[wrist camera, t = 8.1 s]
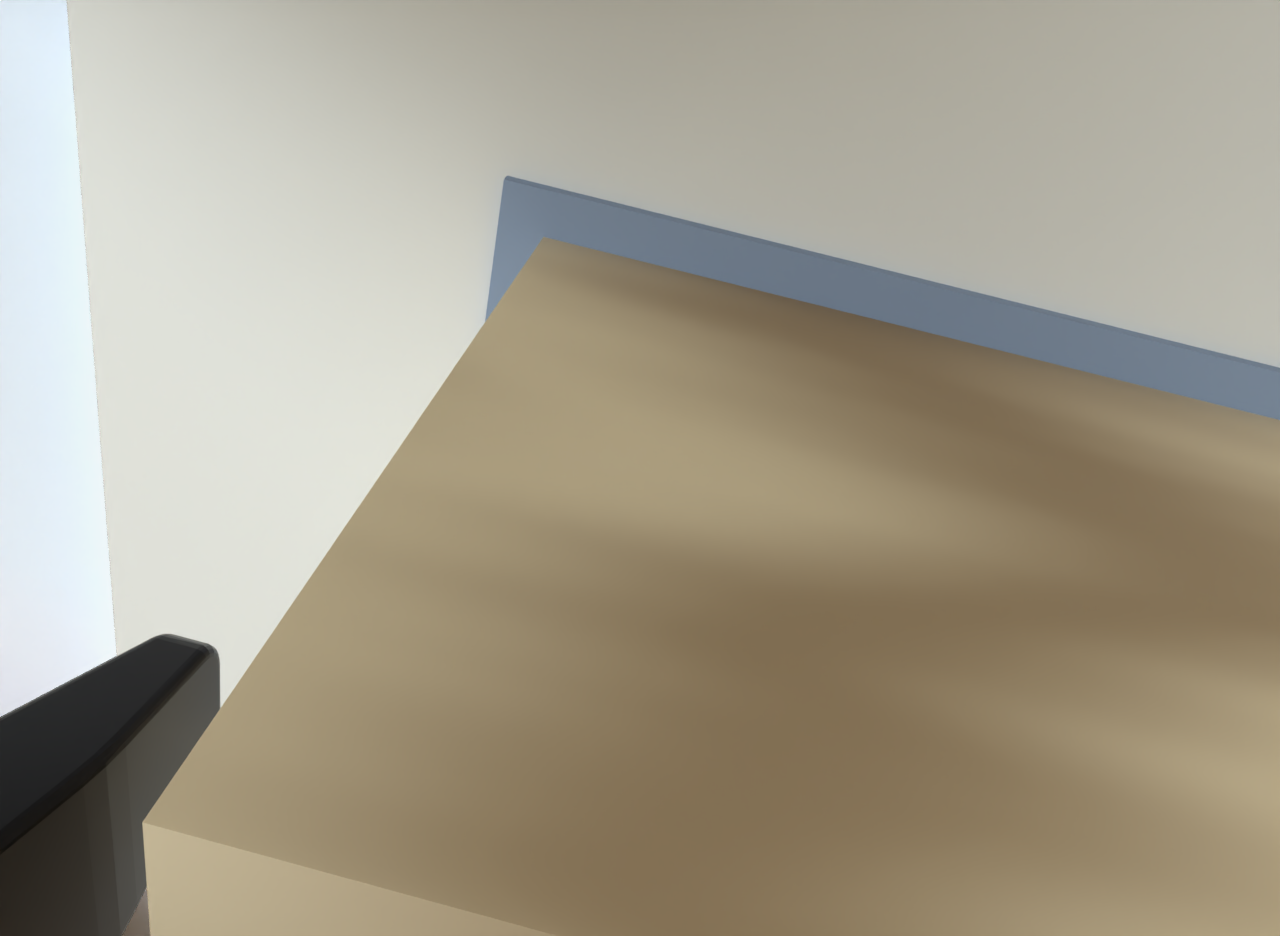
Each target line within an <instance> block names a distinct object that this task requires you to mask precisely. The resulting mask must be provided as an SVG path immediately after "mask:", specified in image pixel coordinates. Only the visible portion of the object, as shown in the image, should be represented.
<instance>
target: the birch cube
mask: <svg viewBox="0 0 1280 936" xmlns="http://www.w3.org/2000/svg"><path fill="white" fill-rule="evenodd" d="M142 825H143V839H144V854H145V868H146V882H147V897H148V911H149V925H150V936H1280V420H1278V419H1274V418H1270V417H1266V416H1261V415H1257V414H1253V413H1249V412H1245V411H1241V410H1237V409H1233V408H1229V407H1225V406H1221V405H1217V404H1213V403H1209V402H1205V401H1201V400H1197V399H1193V398H1189V397H1185V396H1181V395H1177V394H1173V393H1169V392H1165V391H1161V390H1157V389H1153V388H1149V387H1145V386H1141V385H1137V384H1133V383H1129V382H1125V381H1121V380H1117V379H1113V378H1109V377H1105V376H1101V375H1097V374H1093V373H1089V372H1085V371H1081V370H1077V369H1073V368H1069V367H1065V366H1061V365H1057V364H1053V363H1049V362H1044V361H1040V360H1036V359H1032V358H1028V357H1024V356H1020V355H1016V354H1012V353H1008V352H1004V351H1000V350H996V349H992V348H988V347H984V346H980V345H976V344H972V343H968V342H964V341H960V340H956V339H952V338H948V337H944V336H940V335H936V334H932V333H928V332H924V331H920V330H916V329H912V328H908V327H904V326H900V325H896V324H892V323H888V322H884V321H880V320H876V319H872V318H868V317H864V316H860V315H856V314H852V313H848V312H844V311H840V310H836V309H832V308H827V307H823V306H819V305H815V304H811V303H807V302H803V301H799V300H795V299H791V298H787V297H783V296H779V295H775V294H771V293H767V292H763V291H759V290H755V289H751V288H747V287H743V286H739V285H735V284H731V283H727V282H723V281H719V280H715V279H711V278H707V277H703V276H699V275H695V274H691V273H687V272H683V271H679V270H675V269H671V268H667V267H663V266H659V265H655V264H651V263H647V262H643V261H639V260H635V259H631V258H627V257H623V256H619V255H615V254H611V253H606V252H602V251H598V250H594V249H590V248H586V247H582V246H578V245H574V244H570V243H566V242H562V241H558V240H554V239H550V238H546V237H543V238H542V240H541V241H540V243H539V244H538V246H537V247H536V249H535V250H534V252H533V253H532V254H531V256H530V257H529V259H528V260H527V262H526V263H525V265H524V266H523V268H522V269H521V271H520V272H519V273H518V275H517V276H516V278H515V279H514V281H513V282H512V284H511V285H510V287H509V288H508V290H507V291H506V292H505V294H504V295H503V297H502V298H501V300H500V301H499V303H498V304H497V306H496V307H495V308H494V310H493V311H492V313H491V314H490V316H489V317H488V319H487V320H486V322H485V323H484V325H483V326H482V327H481V329H480V330H479V332H478V333H477V335H476V336H475V338H474V339H473V341H472V342H471V344H470V345H469V346H468V348H467V349H466V351H465V352H464V354H463V355H462V357H461V358H460V360H459V361H458V362H457V364H456V365H455V367H454V368H453V370H452V371H451V373H450V374H449V376H448V377H447V379H446V380H445V381H444V383H443V384H442V386H441V387H440V389H439V390H438V392H437V393H436V395H435V396H434V397H433V399H432V400H431V402H430V403H429V405H428V406H427V408H426V409H425V411H424V412H423V414H422V415H421V416H420V418H419V419H418V421H417V422H416V424H415V425H414V427H413V428H412V430H411V431H410V433H409V434H408V435H407V437H406V438H405V440H404V441H403V443H402V444H401V446H400V447H399V449H398V450H397V451H396V453H395V454H394V456H393V457H392V459H391V460H390V462H389V463H388V465H387V466H386V468H385V469H384V470H383V472H382V473H381V475H380V476H379V478H378V479H377V481H376V482H375V484H374V485H373V486H372V488H371V489H370V491H369V492H368V494H367V495H366V497H365V498H364V500H363V501H362V503H361V504H360V505H359V507H358V508H357V510H356V511H355V513H354V514H353V516H352V517H351V519H350V520H349V522H348V523H347V524H346V526H345V527H344V529H343V530H342V532H341V533H340V535H339V536H338V538H337V539H336V540H335V542H334V543H333V545H332V546H331V548H330V549H329V551H328V552H327V554H326V555H325V557H324V558H323V559H322V561H321V562H320V564H319V565H318V567H317V568H316V570H315V571H314V573H313V574H312V576H311V577H310V578H309V580H308V581H307V583H306V584H305V586H304V587H303V589H302V590H301V592H300V593H299V594H298V596H297V597H296V599H295V600H294V602H293V603H292V605H291V606H290V608H289V609H288V611H287V612H286V613H285V615H284V616H283V618H282V619H281V621H280V622H279V624H278V625H277V627H276V628H275V629H274V631H273V632H272V634H271V635H270V637H269V638H268V640H267V641H266V643H265V644H264V646H263V647H262V648H261V650H260V651H259V653H258V654H257V656H256V657H255V659H254V660H253V662H252V663H251V665H250V666H249V667H248V669H247V670H246V672H245V673H244V675H243V676H242V678H241V679H240V681H239V682H238V683H237V685H236V686H235V688H234V689H233V691H232V692H231V694H230V695H229V697H228V698H227V700H226V701H225V702H224V704H223V705H222V707H221V708H220V710H219V711H218V713H217V714H216V716H215V717H214V718H213V720H212V721H211V723H210V724H209V726H208V727H207V729H206V730H205V732H204V733H203V735H202V736H201V737H200V739H199V740H198V742H197V743H196V745H195V746H194V748H193V749H192V751H191V752H190V754H189V755H188V756H187V758H186V759H185V761H184V762H183V764H182V765H181V767H180V768H179V770H178V771H177V772H176V774H175V775H174V777H173V778H172V780H171V781H170V783H169V784H168V786H167V787H166V789H165V790H164V791H163V793H162V794H161V796H160V797H159V799H158V800H157V802H156V803H155V805H154V806H153V807H152V809H151V810H150V812H149V813H148V815H147V816H146V818H145V819H144V821H143V822H142Z"/></svg>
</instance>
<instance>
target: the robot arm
mask: <svg viewBox="0 0 1280 936" xmlns="http://www.w3.org/2000/svg"><path fill="white" fill-rule="evenodd" d="M219 710H220V659H219V654H218V652H217V650H216V648H215V647H214V646H212V645H210V644H208V643H204V642H200V641H197V640H193V639H189V638H185V637H182V636H178V635H174V634H161V635H157V636H155V637H152V638H150V639H148V640H146V641H144V642H142V643H141V644H139V645H137V646H135V647H133V648H131V649H129V650H127V651H125V652H123V653H122V654H120V655H118V656H116V657H114V658H112V659H110V660H108V661H106V662H104V663H102V664H101V665H99V666H97V667H95V668H93V669H91V670H89V671H87V672H85V673H83V674H81V675H80V676H78V677H76V678H74V679H72V680H70V681H68V682H66V683H64V684H62V685H60V686H59V687H57V688H55V689H53V690H51V691H49V692H47V693H45V694H43V695H41V696H39V697H38V698H36V699H34V700H32V701H30V702H28V703H26V704H24V705H22V706H20V707H18V708H17V709H15V710H13V711H11V712H9V713H7V714H5V715H3V716H1V717H0V936H122V935H123V933H124V931H125V929H126V927H127V925H128V923H129V921H130V919H131V917H132V915H133V913H134V911H135V910H136V908H137V906H138V904H139V902H140V900H141V897H142V895H143V893H144V891H145V889H146V887H147V882H146V868H145V854H144V839H143V825H142V822H143V821H144V819H145V818H146V816H147V815H148V813H149V812H150V810H151V809H152V807H153V806H154V805H155V803H156V802H157V800H158V799H159V797H160V796H161V794H162V793H163V791H164V790H165V789H166V787H167V786H168V784H169V783H170V781H171V780H172V778H173V777H174V775H175V774H176V772H177V771H178V770H179V768H180V767H181V765H182V764H183V762H184V761H185V759H186V758H187V756H188V755H189V754H190V752H191V751H192V749H193V748H194V746H195V745H196V743H197V742H198V740H199V739H200V737H201V736H202V735H203V733H204V732H205V730H206V729H207V727H208V726H209V724H210V723H211V721H212V720H213V718H214V717H215V716H216V714H217V713H218V711H219Z"/></svg>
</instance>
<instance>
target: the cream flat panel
mask: <svg viewBox="0 0 1280 936" xmlns="http://www.w3.org/2000/svg"><path fill="white" fill-rule="evenodd" d="M67 12H68V25H69V38H70V51H71V64H72V77H73V90H74V103H75V117H76V130H77V143H78V156H79V169H80V182H81V195H82V208H83V221H84V234H85V247H86V260H87V273H88V286H89V300H90V313H91V326H92V339H93V352H94V365H95V378H96V391H97V404H98V417H99V430H100V443H101V456H102V470H103V483H104V496H105V509H106V522H107V535H108V548H109V561H110V574H111V587H112V600H113V613H114V626H115V640H116V653H117V656H118V655H120V654H122V653H123V652H125V651H127V650H129V649H131V648H133V647H135V646H137V645H139V644H141V643H142V642H144V641H146V640H148V639H150V638H152V637H155V636H157V635H161V634H174V635H178V636H182V637H185V638H189V639H193V640H197V641H200V642H204V643H208V644H210V645H212V646H214V647H215V648H216V650H217V652H218V654H219V659H220V708H221V707H222V705H223V704H224V702H225V701H226V700H227V698H228V697H229V695H230V694H231V692H232V691H233V689H234V688H235V686H236V685H237V683H238V682H239V681H240V679H241V678H242V676H243V675H244V673H245V672H246V670H247V669H248V667H249V666H250V665H251V663H252V662H253V660H254V659H255V657H256V656H257V654H258V653H259V651H260V650H261V648H262V647H263V646H264V644H265V643H266V641H267V640H268V638H269V637H270V635H271V634H272V632H273V631H274V629H275V628H276V627H277V625H278V624H279V622H280V621H281V619H282V618H283V616H284V615H285V613H286V612H287V611H288V609H289V608H290V606H291V605H292V603H293V602H294V600H295V599H296V597H297V596H298V594H299V593H300V592H301V590H302V589H303V587H304V586H305V584H306V583H307V581H308V580H309V578H310V577H311V576H312V574H313V573H314V571H315V570H316V568H317V567H318V565H319V564H320V562H321V561H322V559H323V558H324V557H325V555H326V554H327V552H328V551H329V549H330V548H331V546H332V545H333V543H334V542H335V540H336V539H337V538H338V536H339V535H340V533H341V532H342V530H343V529H344V527H345V526H346V524H347V523H348V522H349V520H350V519H351V517H352V516H353V514H354V513H355V511H356V510H357V508H358V507H359V505H360V504H361V503H362V501H363V500H364V498H365V497H366V495H367V494H368V492H369V491H370V489H371V488H372V486H373V485H374V484H375V482H376V481H377V479H378V478H379V476H380V475H381V473H382V472H383V470H384V469H385V468H386V466H387V465H388V463H389V462H390V460H391V459H392V457H393V456H394V454H395V453H396V451H397V450H398V449H399V447H400V446H401V444H402V443H403V441H404V440H405V438H406V437H407V435H408V434H409V433H410V431H411V430H412V428H413V427H414V425H415V424H416V422H417V421H418V419H419V418H420V416H421V415H422V414H423V412H424V411H425V409H426V408H427V406H428V405H429V403H430V402H431V400H432V399H433V397H434V396H435V395H436V393H437V392H438V390H439V389H440V387H441V386H442V384H443V383H444V381H445V380H446V379H447V377H448V376H449V374H450V373H451V371H452V370H453V368H454V367H455V365H456V364H457V362H458V361H459V360H460V358H461V357H462V355H463V354H464V352H465V351H466V349H467V348H468V346H469V345H470V344H471V342H472V341H473V339H474V338H475V336H476V335H477V333H478V332H479V330H480V329H481V327H482V326H483V325H484V323H485V322H486V320H487V319H488V317H489V316H490V314H491V313H492V311H493V310H494V308H495V307H496V306H497V304H498V303H499V301H500V300H501V298H502V297H503V295H504V294H505V292H506V291H507V290H508V288H509V287H510V285H511V284H512V282H513V281H514V279H515V278H516V276H517V275H518V273H519V272H520V271H521V269H522V268H523V266H524V265H525V263H526V262H527V260H528V259H529V257H530V256H531V254H532V253H533V252H534V250H535V249H536V247H537V246H538V244H539V243H540V241H541V240H542V238H543V237H546V238H550V239H554V240H558V241H562V242H566V243H570V244H574V245H578V246H582V247H586V248H590V249H594V250H598V251H602V252H606V253H611V254H615V255H619V256H623V257H627V258H631V259H635V260H639V261H643V262H647V263H651V264H655V265H659V266H663V267H667V268H671V269H675V270H679V271H683V272H687V273H691V274H695V275H699V276H703V277H707V278H711V279H715V280H719V281H723V282H727V283H731V284H735V285H739V286H743V287H747V288H751V289H755V290H759V291H763V292H767V293H771V294H775V295H779V296H783V297H787V298H791V299H795V300H799V301H803V302H807V303H811V304H815V305H819V306H823V307H827V308H832V309H836V310H840V311H844V312H848V313H852V314H856V315H860V316H864V317H868V318H872V319H876V320H880V321H884V322H888V323H892V324H896V325H900V326H904V327H908V328H912V329H916V330H920V331H924V332H928V333H932V334H936V335H940V336H944V337H948V338H952V339H956V340H960V341H964V342H968V343H972V344H976V345H980V346H984V347H988V348H992V349H996V350H1000V351H1004V352H1008V353H1012V354H1016V355H1020V356H1024V357H1028V358H1032V359H1036V360H1040V361H1044V362H1049V363H1053V364H1057V365H1061V366H1065V367H1069V368H1073V369H1077V370H1081V371H1085V372H1089V373H1093V374H1097V375H1101V376H1105V377H1109V378H1113V379H1117V380H1121V381H1125V382H1129V383H1133V384H1137V385H1141V386H1145V387H1149V388H1153V389H1157V390H1161V391H1165V392H1169V393H1173V394H1177V395H1181V396H1185V397H1189V398H1193V399H1197V400H1201V401H1205V402H1209V403H1213V404H1217V405H1221V406H1225V407H1229V408H1233V409H1237V410H1241V411H1245V412H1249V413H1253V414H1257V415H1261V416H1266V417H1270V418H1274V419H1278V420H1280V0H67Z"/></svg>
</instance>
